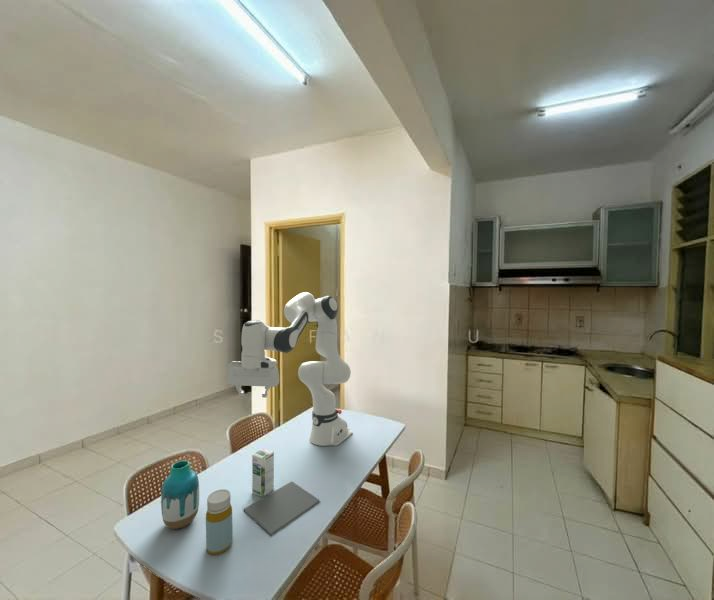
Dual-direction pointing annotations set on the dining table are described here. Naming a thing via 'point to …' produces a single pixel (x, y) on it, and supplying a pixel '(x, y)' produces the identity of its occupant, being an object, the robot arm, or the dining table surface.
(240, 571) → the dining table surface
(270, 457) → the syrup box
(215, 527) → the bottle
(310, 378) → the robot arm
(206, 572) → the dining table surface
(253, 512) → the mat
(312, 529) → the dining table surface
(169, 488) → the vase
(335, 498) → the dining table surface
